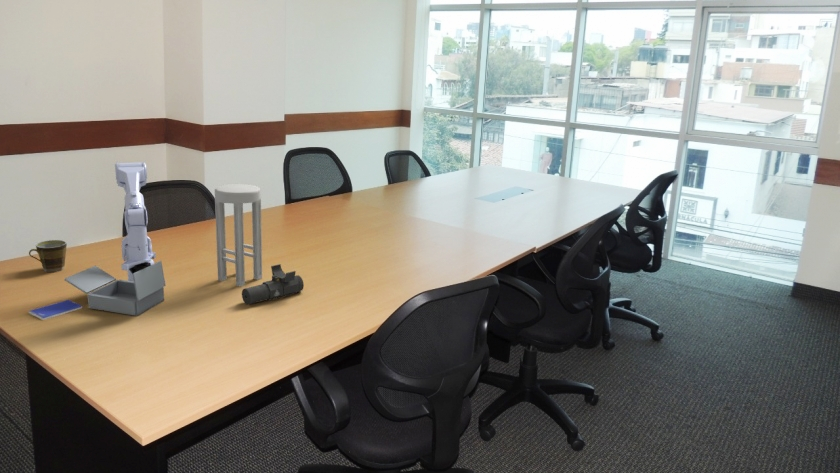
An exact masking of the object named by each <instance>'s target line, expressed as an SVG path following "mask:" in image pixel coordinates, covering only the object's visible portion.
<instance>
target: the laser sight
mask: <svg viewBox="0 0 840 473" xmlns="http://www.w3.org/2000/svg"><path fill="white" fill-rule="evenodd" d="M270 268H271V274H272V275H271V280H267V281H264V282H262V283H261V284H258V285H254V286H250V287H245V288H243V289H242V291H241V298H242V301H243V302H244V304H245V305H252V304H256V303H259V302H263V301H273V300H276V299H279V298H284V297H288V296H292V295H295V294H297V293H298V292H301V291H303V290H304V287H305V286H304V285H305V284H304V280H303V278H302V277H301V276H300V275H299V274H298V275H296V273H297V270H293V271H290V272H284V270H283V269H282V264H275V265H271V267H270Z"/></svg>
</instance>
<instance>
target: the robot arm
mask: <svg viewBox="0 0 840 473" xmlns="http://www.w3.org/2000/svg"><path fill="white" fill-rule="evenodd" d="M114 168H115V170H114V172H115V180H116V184H117V186H118V187H121V188H123V190H124V192H125V194H124V199H123V200H124V208H125V210H124V214H123V215H124V224H125V228H126V233H127V235H125V236H124V237H123V238H122V240H121V246H120V247H121V256H122V258H121V259H122V261H123V263H121V264H120V266H121V271H125V272H126V273H127V281H133V282H134V280H133V275H132V274H133V273H135V272H137V271H139V270H142V269H144V268H146V267H148V266H151V265H152V264H154V263H155V261H154V260H155V259H157V255H156V254H157V253H156V251H155V252H154V251H153V246H152V240H151V239H152V238H150V237H149V236H148V232H147V226H148V220H149V218H148V211H147V207H146V206H145V199H144V195H143V194H142V193H141V192H140V190H141V187H144V186H146V185H147V182H148V181H147V179H148V172H147V163H145V161H141V162H116V163H115V164H114Z"/></svg>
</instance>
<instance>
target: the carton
mask: <svg viewBox="0 0 840 473" xmlns="http://www.w3.org/2000/svg"><path fill="white" fill-rule="evenodd" d="M164 288H165V287H163V288H161V289H159V290H157V291H155V292H153V293H152V294H150V295H148V296H146V297H144V298H142V299H140V300H137V297H136V291H135V286H134V282H133V281H128V279H127V280H126V279H116V280H115V281H113V282H111V283H109V284H107V285H104V286H102V287H100V288H98V289H96V290H94V291H92V292H90V293H87V303H88V309H91V310H92V309H93V310H97V309H98V311H103V310H104V311H106V312H110V313H117V314H121V315H122V314H123V315H130V316H135V317H138V316H140V315H142V314H144V313H145V312H147V311H149V310H151V309H152V308H154V307H156V306H158V305H159V304H161V303H162V302H164V301H165V292H164Z"/></svg>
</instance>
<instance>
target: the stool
mask: <svg viewBox="0 0 840 473" xmlns="http://www.w3.org/2000/svg"><path fill="white" fill-rule="evenodd" d="M261 190H262V189H261V188H260V187H259V186H257V185H253V184H250V183H249V184H246V183H233V184H232V183H230V184H228V183H227V184H223V185H218V186H217V187H215V188H214V207H215V208H214V209H215V210H214V211H215V236H216V258H217V259H216V260H217V261H216V262H217V263H216V264H217V281H220V282H224V281H227V279H228V275H227V274H228V272H227V262H228V263H232V264H234V265H235V286H236V287H244V286H246V275H245V271H246V270H245V269H246V268H245V257H250V258H252V259H253V260H252V261H253V262H252V264H253V265H252V268H253V269H252V270H253V273H252V274H253V279H254V280H256V281H259V280H261V279H263V252H262V251H263V248H262V247H263V244H262V242H263V241H262V197H261V196H262V193H261ZM225 204H232V205H233V225H234V226H233V228H234V230H233V232H234V234H233V235H234V250H231V249H227V245H226V244H227V242H226V240H227V238H226V215H225V212H226V211H225ZM244 204H251V216H252V220H251V222H252V224H251V225H252V245H251V244H247V243H245V239H244V238H245V236H244V235H245V234H244V233H245V232H244ZM245 249H248V250H251V251H252V252H248V251H246V250H245ZM227 254H228V255H232V256H234V258H231V257H227Z"/></svg>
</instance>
